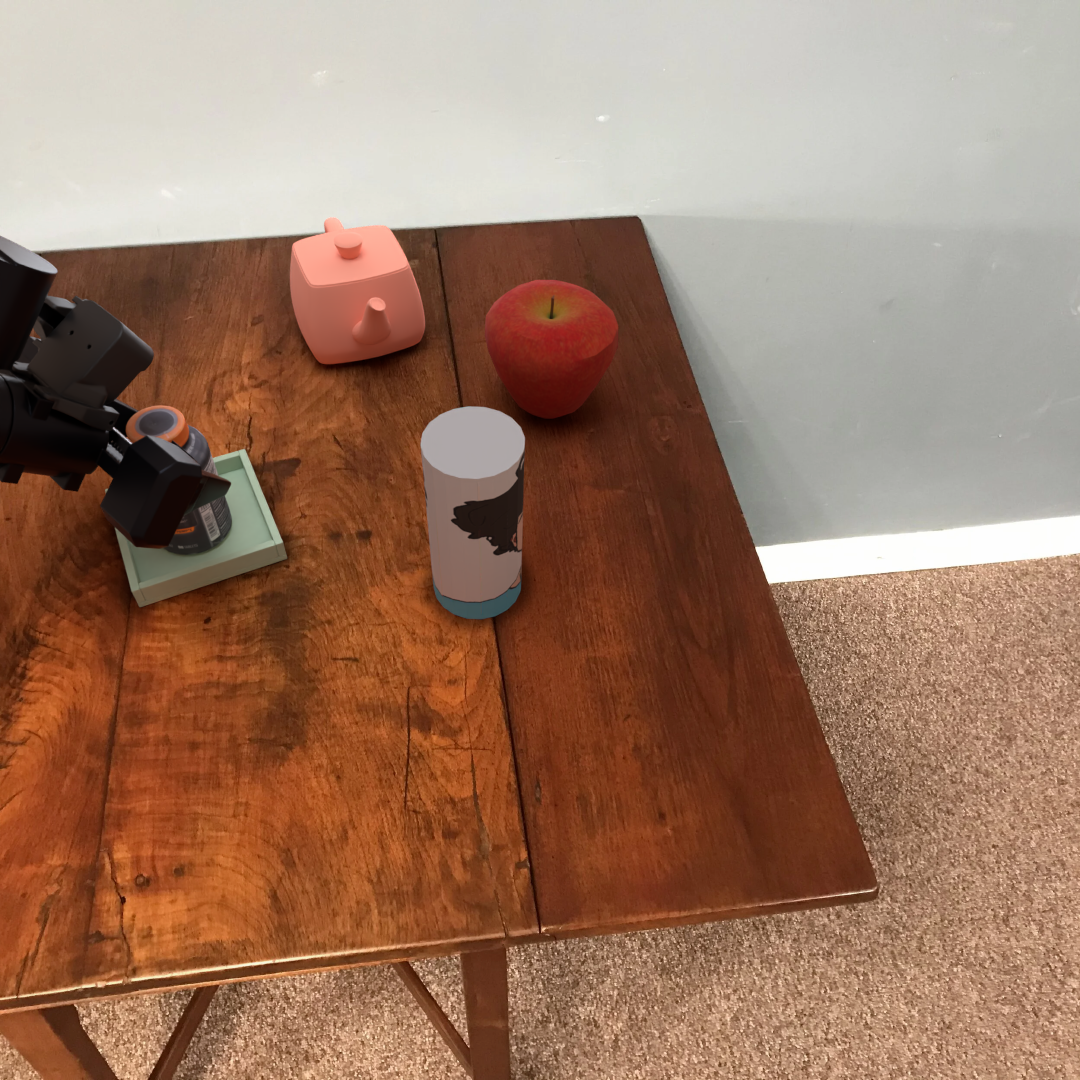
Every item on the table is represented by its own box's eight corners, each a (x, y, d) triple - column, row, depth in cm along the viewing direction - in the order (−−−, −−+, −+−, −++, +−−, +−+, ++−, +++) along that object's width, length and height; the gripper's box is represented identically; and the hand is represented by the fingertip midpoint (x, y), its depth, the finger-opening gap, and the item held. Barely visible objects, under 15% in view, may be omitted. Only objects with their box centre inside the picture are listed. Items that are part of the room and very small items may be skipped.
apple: (632, 402, 86) (647, 290, 77) (558, 465, 80) (565, 353, 71) (538, 351, 90) (542, 240, 81) (463, 408, 85) (457, 295, 75)
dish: (139, 607, 69) (131, 591, 68) (112, 506, 76) (104, 489, 74) (287, 558, 73) (283, 542, 71) (249, 465, 79) (244, 448, 78)
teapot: (393, 275, 98) (384, 181, 90) (450, 382, 87) (444, 286, 79) (283, 298, 94) (263, 203, 86) (328, 411, 84) (310, 314, 76)
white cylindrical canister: (535, 601, 71) (542, 460, 59) (452, 631, 69) (443, 491, 57) (500, 539, 75) (500, 395, 63) (420, 565, 73) (405, 422, 61)
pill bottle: (139, 543, 73) (90, 436, 64) (185, 492, 76) (145, 385, 68) (204, 567, 71) (163, 461, 63) (248, 514, 75) (215, 407, 66)
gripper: (127, 369, 50) (320, 421, 64) (-42, 233, 58) (163, 306, 72) (45, 545, 52) (249, 559, 66) (-108, 391, 60) (104, 432, 74)
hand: (190, 456), depth 69 cm, fingers open, 9 cm apart
